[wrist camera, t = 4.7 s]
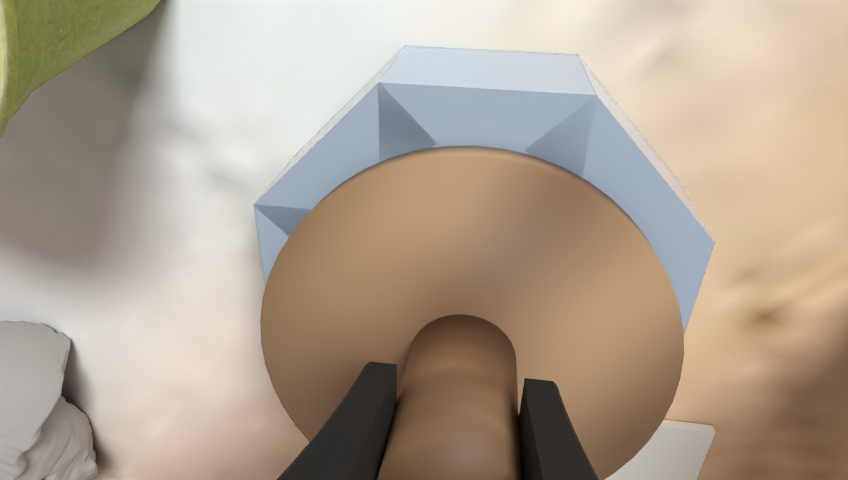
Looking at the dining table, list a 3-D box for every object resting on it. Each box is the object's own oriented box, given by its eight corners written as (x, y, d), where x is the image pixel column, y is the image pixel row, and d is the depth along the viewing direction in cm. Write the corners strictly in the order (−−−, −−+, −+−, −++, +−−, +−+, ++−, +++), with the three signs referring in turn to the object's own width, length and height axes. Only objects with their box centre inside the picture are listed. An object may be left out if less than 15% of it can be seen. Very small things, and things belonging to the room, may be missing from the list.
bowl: (706, 61, 16) (761, 104, 12) (619, 377, 22) (640, 464, 18) (289, 39, 17) (233, 73, 13) (318, 345, 23) (285, 421, 20)
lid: (753, 224, 13) (903, 360, 8) (577, 527, 18) (606, 732, 13) (313, 87, 13) (203, 142, 8) (248, 424, 18) (152, 590, 13)
